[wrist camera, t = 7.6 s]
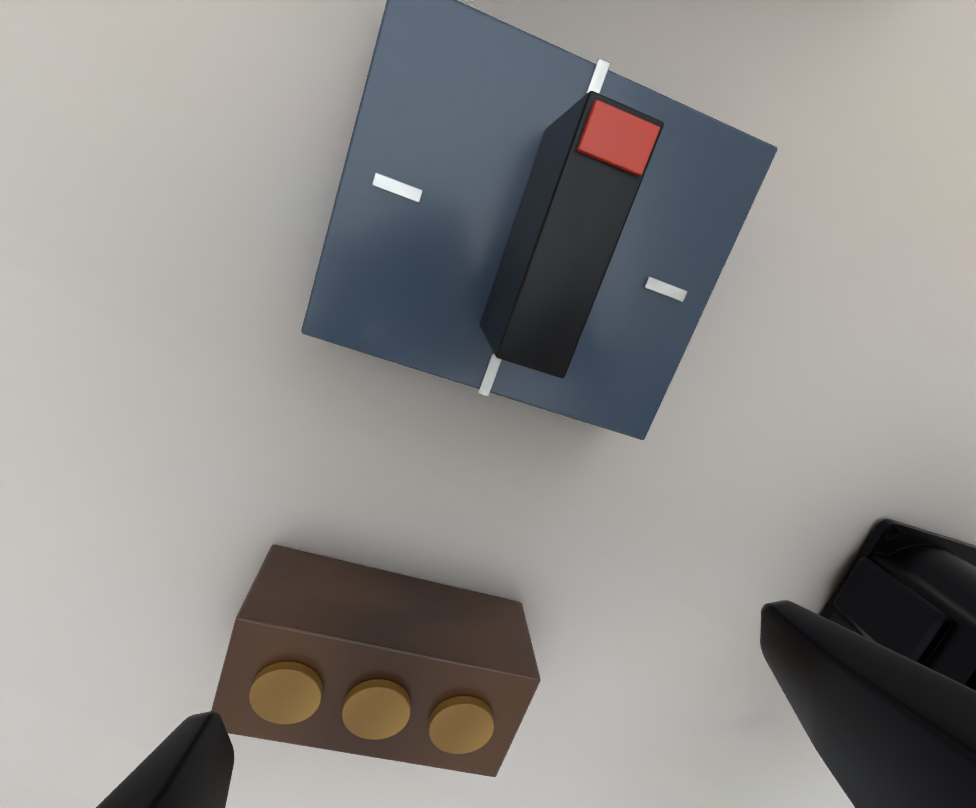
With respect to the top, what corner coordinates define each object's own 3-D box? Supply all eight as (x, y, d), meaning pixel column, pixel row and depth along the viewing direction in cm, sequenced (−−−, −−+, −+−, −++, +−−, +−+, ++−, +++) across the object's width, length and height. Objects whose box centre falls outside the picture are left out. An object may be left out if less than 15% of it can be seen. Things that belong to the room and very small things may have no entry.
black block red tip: (531, 343, 17) (566, 383, 13) (478, 325, 17) (496, 360, 13) (602, 150, 16) (671, 120, 11) (546, 127, 15) (593, 85, 11)
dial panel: (728, 156, 19) (784, 143, 16) (615, 415, 22) (645, 445, 19) (400, 10, 17) (395, -37, 14) (318, 320, 19) (298, 337, 16)
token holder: (522, 602, 24) (544, 688, 20) (485, 688, 25) (497, 788, 21) (272, 543, 22) (231, 625, 17) (245, 640, 23) (200, 740, 19)
